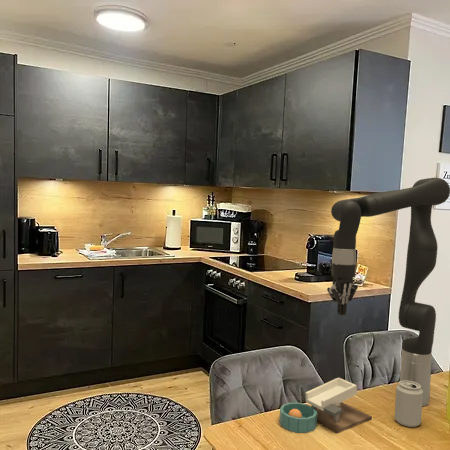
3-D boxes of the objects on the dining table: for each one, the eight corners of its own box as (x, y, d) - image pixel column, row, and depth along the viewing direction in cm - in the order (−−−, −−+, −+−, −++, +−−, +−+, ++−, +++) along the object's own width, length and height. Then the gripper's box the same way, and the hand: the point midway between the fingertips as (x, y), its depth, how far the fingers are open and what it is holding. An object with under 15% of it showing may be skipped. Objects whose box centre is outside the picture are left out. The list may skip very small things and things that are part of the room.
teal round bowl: (297, 412, 144) (298, 399, 143) (323, 426, 135) (324, 413, 135) (272, 420, 137) (273, 407, 137) (297, 436, 129) (298, 422, 129)
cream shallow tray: (338, 386, 149) (338, 377, 148) (367, 399, 140) (367, 389, 139) (305, 401, 140) (305, 392, 140) (334, 416, 131) (334, 406, 131)
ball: (283, 412, 136) (288, 426, 134) (292, 407, 134) (297, 421, 132) (292, 411, 138) (297, 424, 136) (301, 406, 136) (306, 419, 134)
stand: (337, 402, 152) (338, 384, 151) (371, 419, 141) (372, 400, 140) (302, 414, 142) (303, 395, 142) (336, 433, 131) (337, 412, 131)
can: (423, 430, 135) (425, 390, 135) (396, 426, 137) (398, 387, 136) (418, 418, 143) (420, 380, 142) (392, 415, 144) (394, 377, 144)
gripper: (347, 259, 156) (345, 309, 157) (321, 261, 148) (319, 314, 150) (366, 262, 150) (363, 314, 151) (339, 265, 142) (337, 320, 143)
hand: (341, 314), depth 150 cm, fingers closed
